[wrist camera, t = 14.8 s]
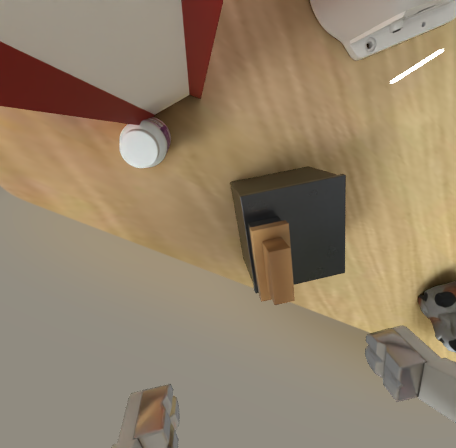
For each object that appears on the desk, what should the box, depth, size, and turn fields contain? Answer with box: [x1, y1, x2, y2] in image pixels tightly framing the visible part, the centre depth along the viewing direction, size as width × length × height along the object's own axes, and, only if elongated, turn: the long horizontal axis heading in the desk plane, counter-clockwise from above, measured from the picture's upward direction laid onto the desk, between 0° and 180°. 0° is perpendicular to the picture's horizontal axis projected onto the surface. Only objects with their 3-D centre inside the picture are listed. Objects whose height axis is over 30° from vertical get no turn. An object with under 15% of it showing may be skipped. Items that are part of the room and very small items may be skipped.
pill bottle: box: [119, 117, 171, 168], centre depth 30 cm, size 5×5×10 cm
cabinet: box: [230, 166, 346, 293], centre depth 37 cm, size 14×14×10 cm
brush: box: [248, 217, 295, 305], centre depth 29 cm, size 4×10×6 cm, turn 9°
